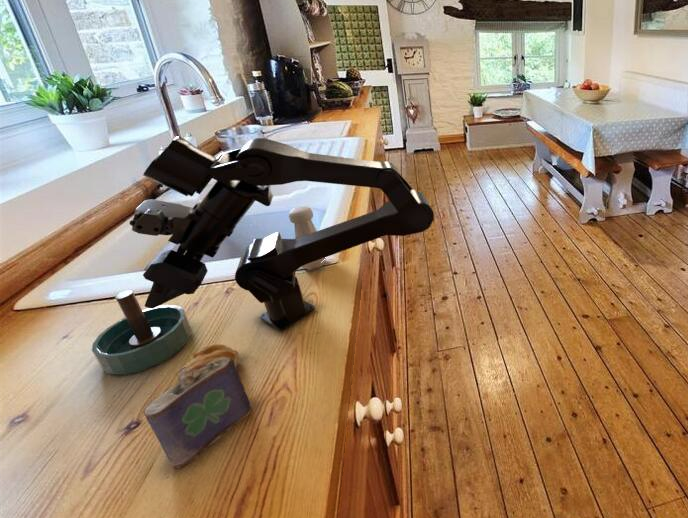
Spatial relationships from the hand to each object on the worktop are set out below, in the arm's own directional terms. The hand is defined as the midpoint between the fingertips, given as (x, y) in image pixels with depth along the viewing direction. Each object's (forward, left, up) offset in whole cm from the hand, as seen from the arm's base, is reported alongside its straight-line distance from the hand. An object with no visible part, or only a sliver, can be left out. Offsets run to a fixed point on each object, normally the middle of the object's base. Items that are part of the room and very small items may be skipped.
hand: (160, 288), depth 63 cm
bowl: (+3, +4, -10) cm, 11 cm away
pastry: (-13, +2, -10) cm, 17 cm away
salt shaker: (+1, -24, -10) cm, 27 cm away
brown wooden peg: (+3, +4, -10) cm, 11 cm away
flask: (-22, +6, -10) cm, 25 cm away
